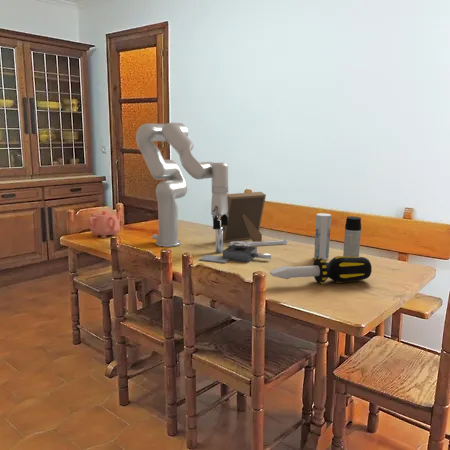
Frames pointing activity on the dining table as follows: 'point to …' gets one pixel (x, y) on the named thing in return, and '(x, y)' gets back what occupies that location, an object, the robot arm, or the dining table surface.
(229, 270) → the dining table surface
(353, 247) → the spray can
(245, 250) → the block
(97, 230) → the teapot
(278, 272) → the screwdriver
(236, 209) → the photo frame
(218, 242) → the key
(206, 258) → the mat
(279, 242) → the wrench
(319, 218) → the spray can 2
